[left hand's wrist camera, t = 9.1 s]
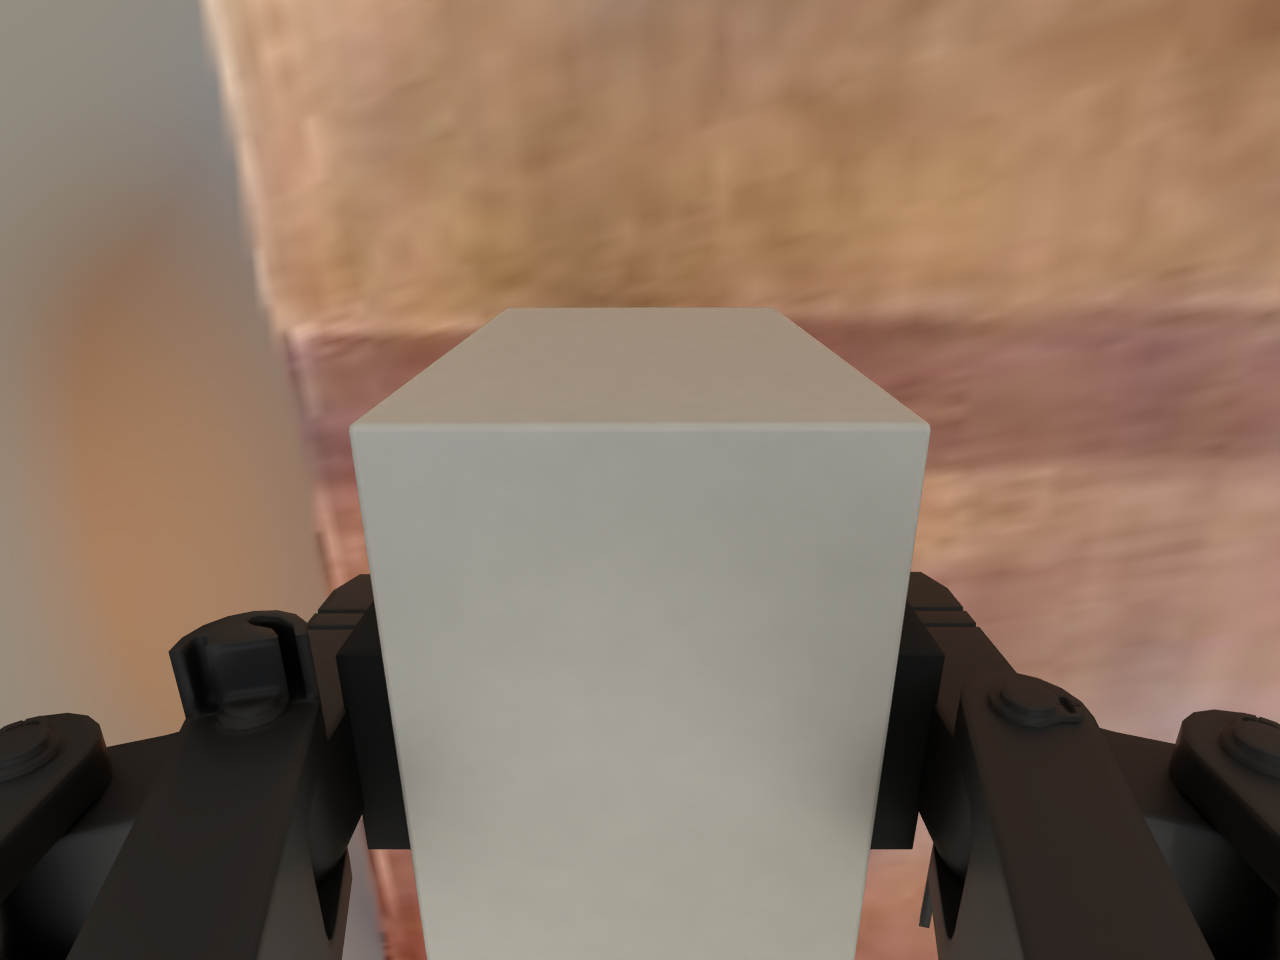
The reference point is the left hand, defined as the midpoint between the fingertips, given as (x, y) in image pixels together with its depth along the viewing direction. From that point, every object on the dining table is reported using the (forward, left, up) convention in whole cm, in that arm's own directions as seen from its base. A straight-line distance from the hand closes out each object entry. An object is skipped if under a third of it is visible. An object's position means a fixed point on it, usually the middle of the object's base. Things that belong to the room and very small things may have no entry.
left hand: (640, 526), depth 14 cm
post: (-33, +7, -1) cm, 34 cm away
